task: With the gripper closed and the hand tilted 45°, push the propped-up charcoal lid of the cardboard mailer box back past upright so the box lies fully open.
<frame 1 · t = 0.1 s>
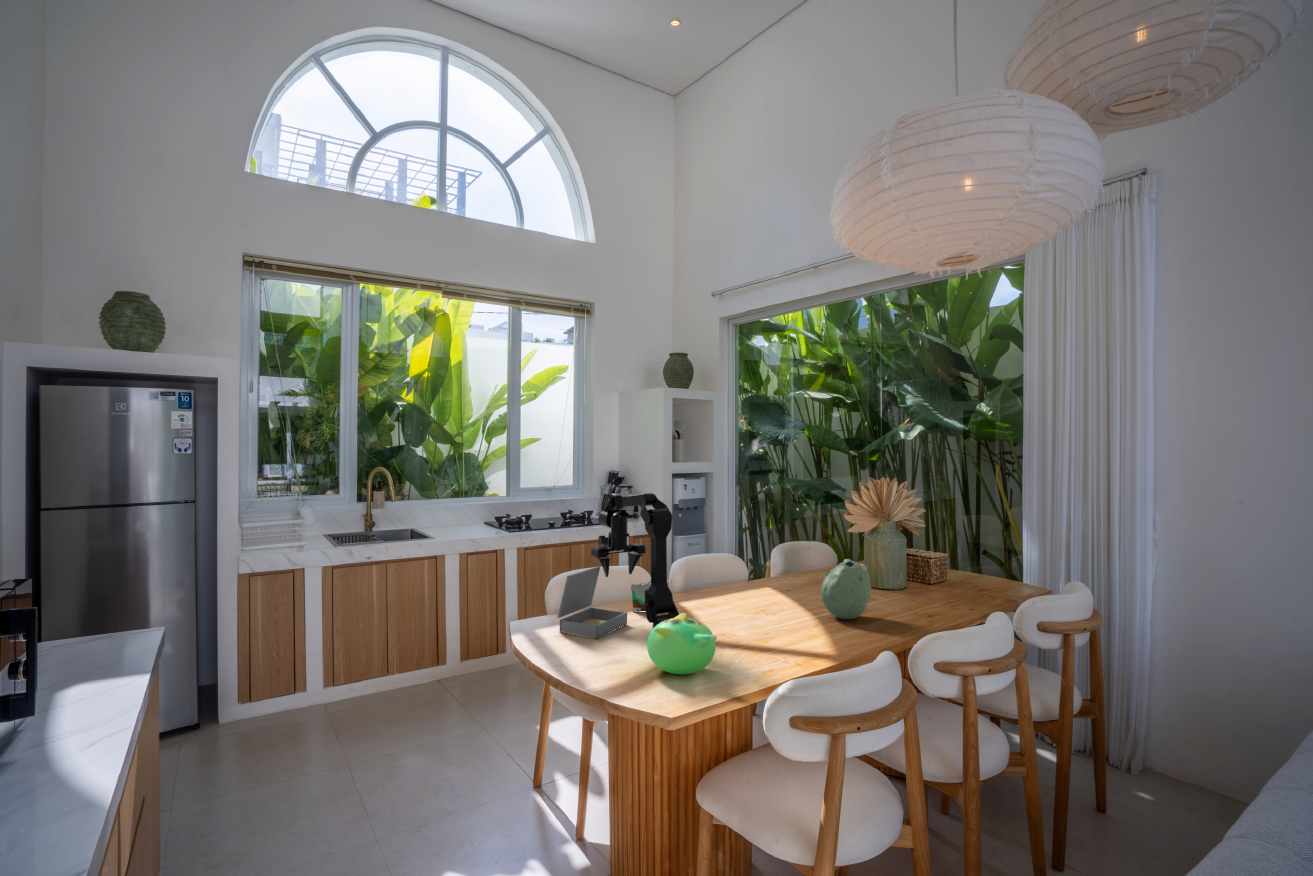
hand: (618, 575, 217), 15 cm above the table, tool pointing down, fingers open, 9 cm apart
toy bird: (681, 673, 167), on the table
food container: (647, 611, 228), on the table
mailer box: (594, 628, 205), on the table
mailer lid: (579, 591, 208), point 11 cm above the table, hinge at 75.0°
green avocado: (845, 619, 220), on the table
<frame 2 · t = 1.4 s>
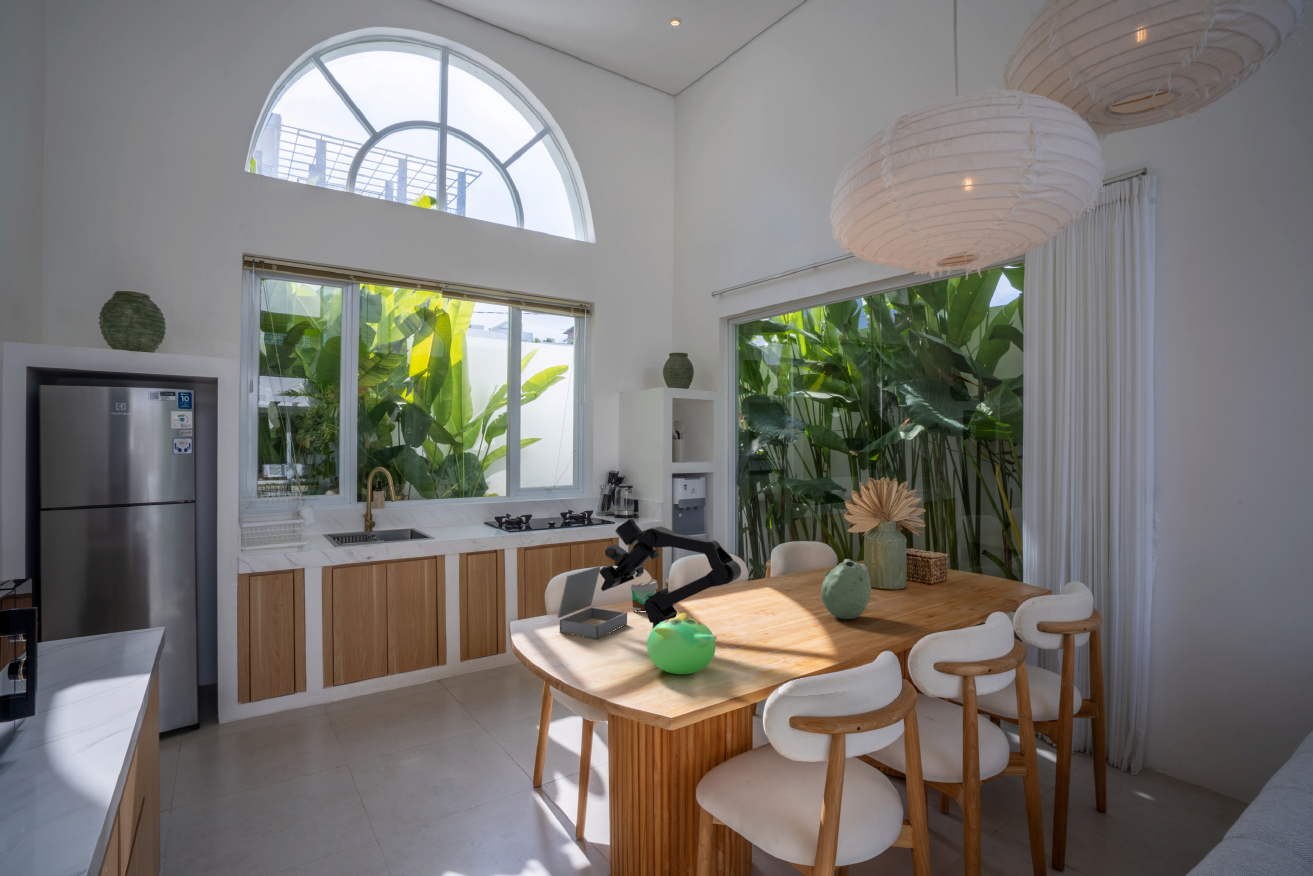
hand: (606, 588, 203), 14 cm above the table, tool tilted 45°, fingers open, 5 cm apart
nothing on the table moved.
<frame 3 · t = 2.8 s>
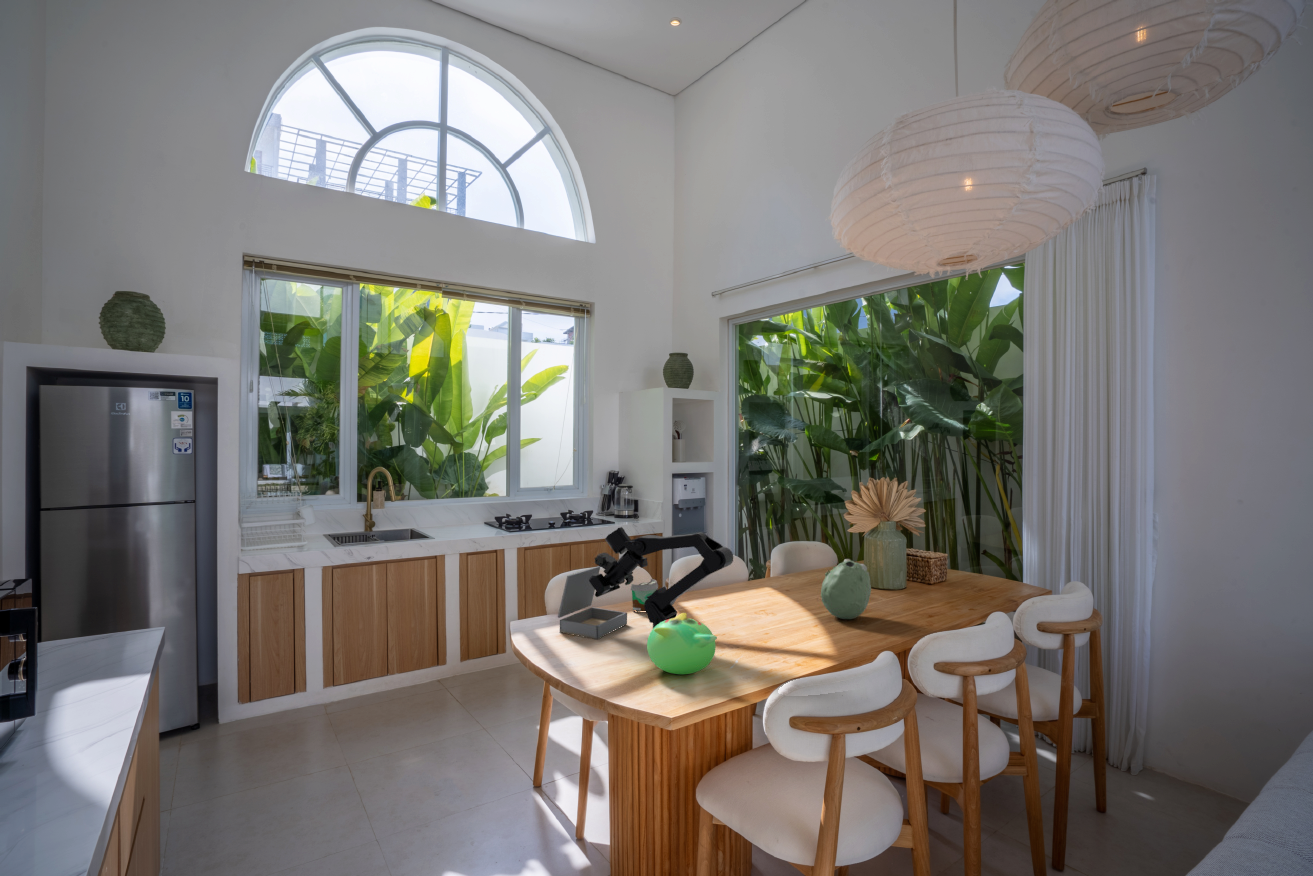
hand: (596, 595, 205), 11 cm above the table, tool tilted 45°, fingers closed
nothing on the table moved.
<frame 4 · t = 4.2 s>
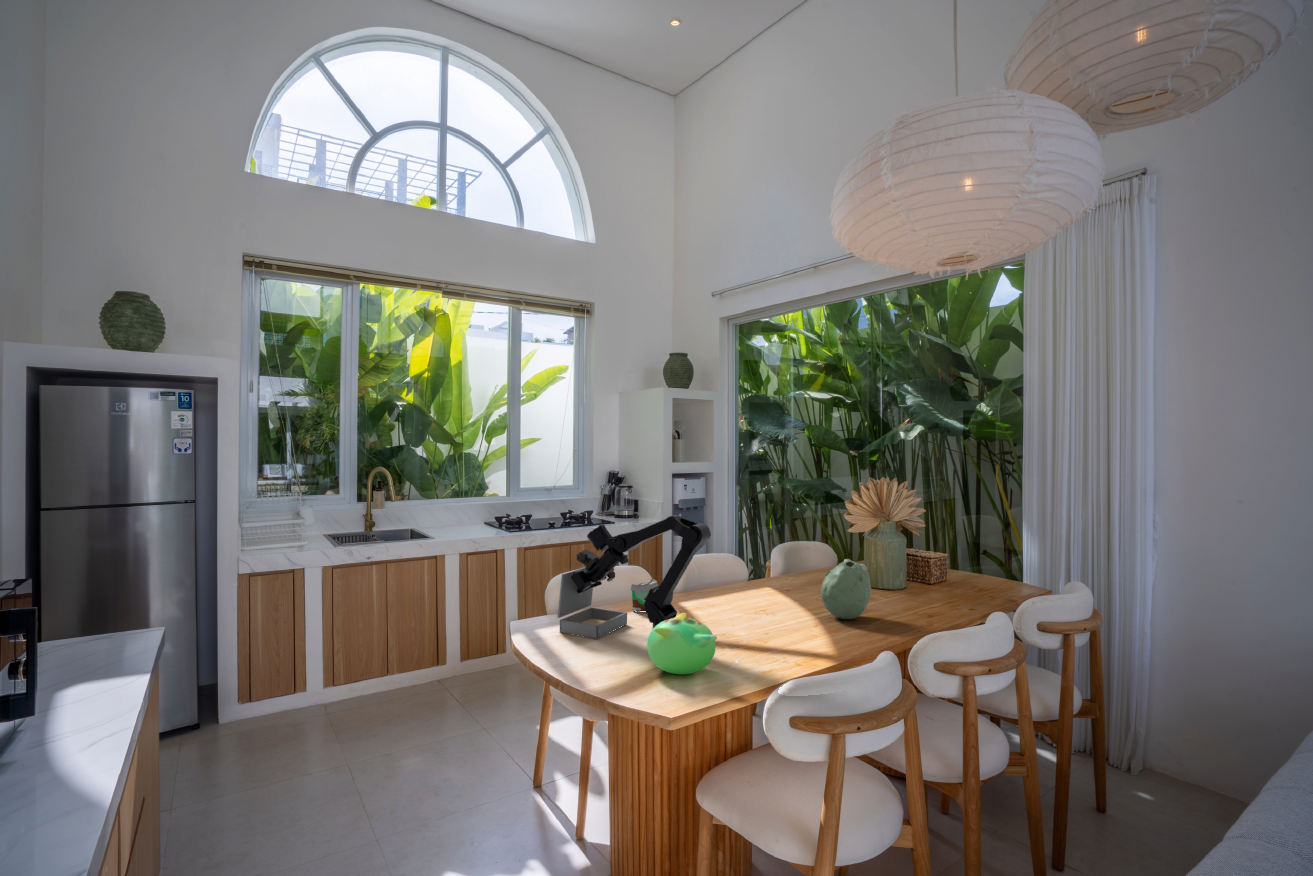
hand: (578, 592, 208), 11 cm above the table, tool tilted 45°, fingers closed, pressing on mailer lid
mailer lid: (577, 590, 208), point 12 cm above the table, hinge at 83.8°, touching gripper
everything else where it was.
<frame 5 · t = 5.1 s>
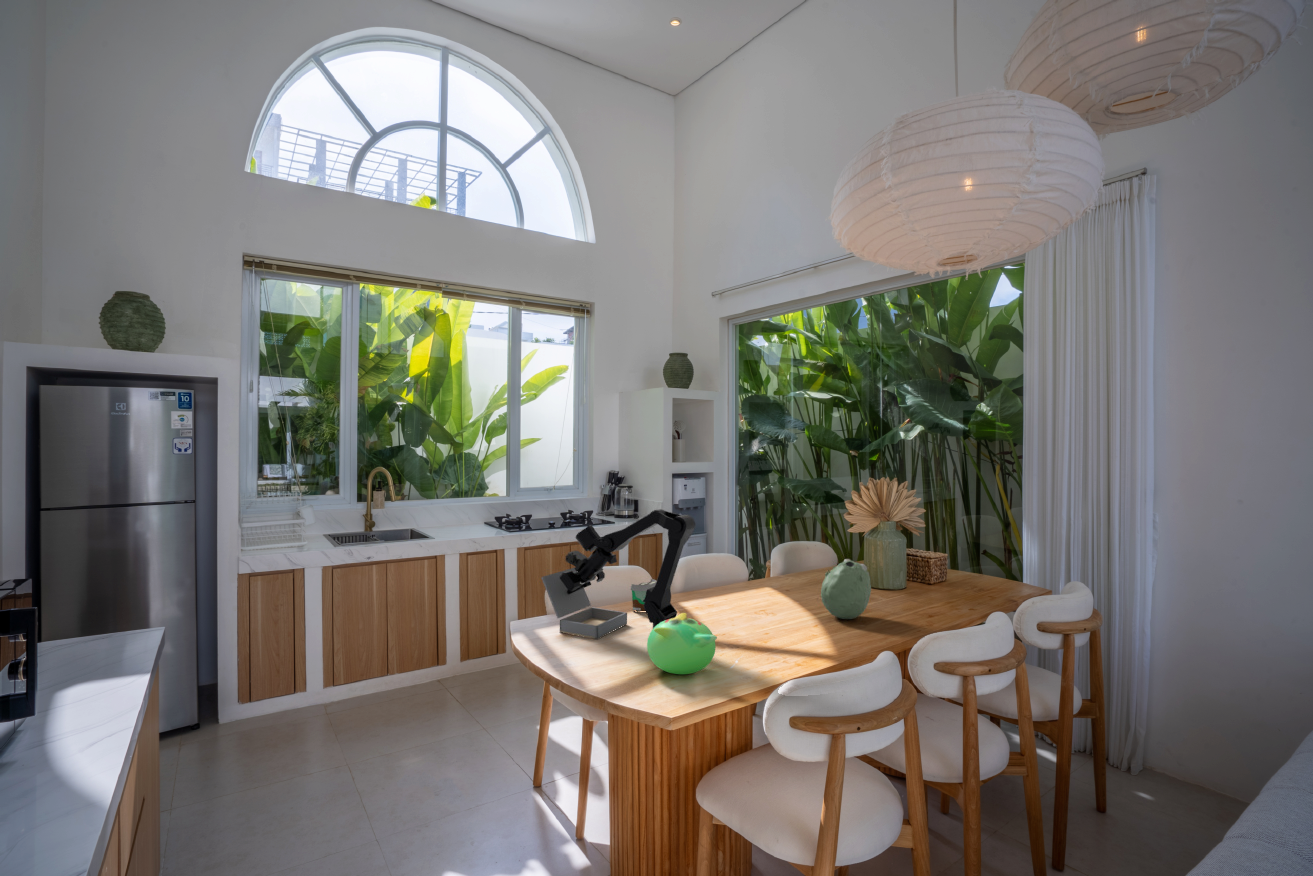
hand: (568, 593, 210), 10 cm above the table, tool tilted 45°, fingers closed, pressing on mailer lid
mailer lid: (566, 591, 210), point 11 cm above the table, hinge at 118.8°, touching gripper
everything else where it was.
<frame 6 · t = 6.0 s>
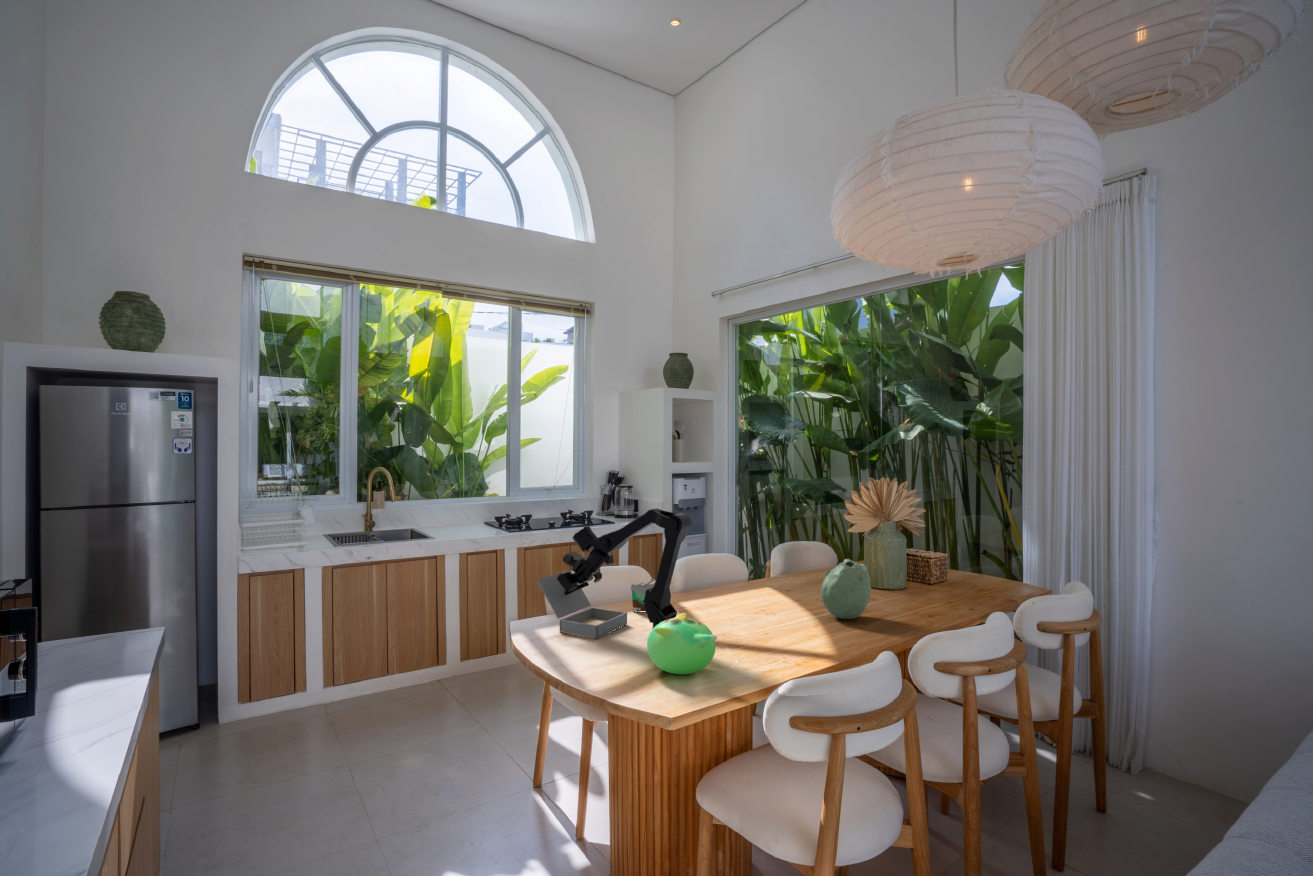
hand: (565, 593, 211), 10 cm above the table, tool tilted 45°, fingers closed, pressing on mailer lid
mailer lid: (564, 593, 211), point 10 cm above the table, hinge at 127.5°, touching gripper
everything else where it was.
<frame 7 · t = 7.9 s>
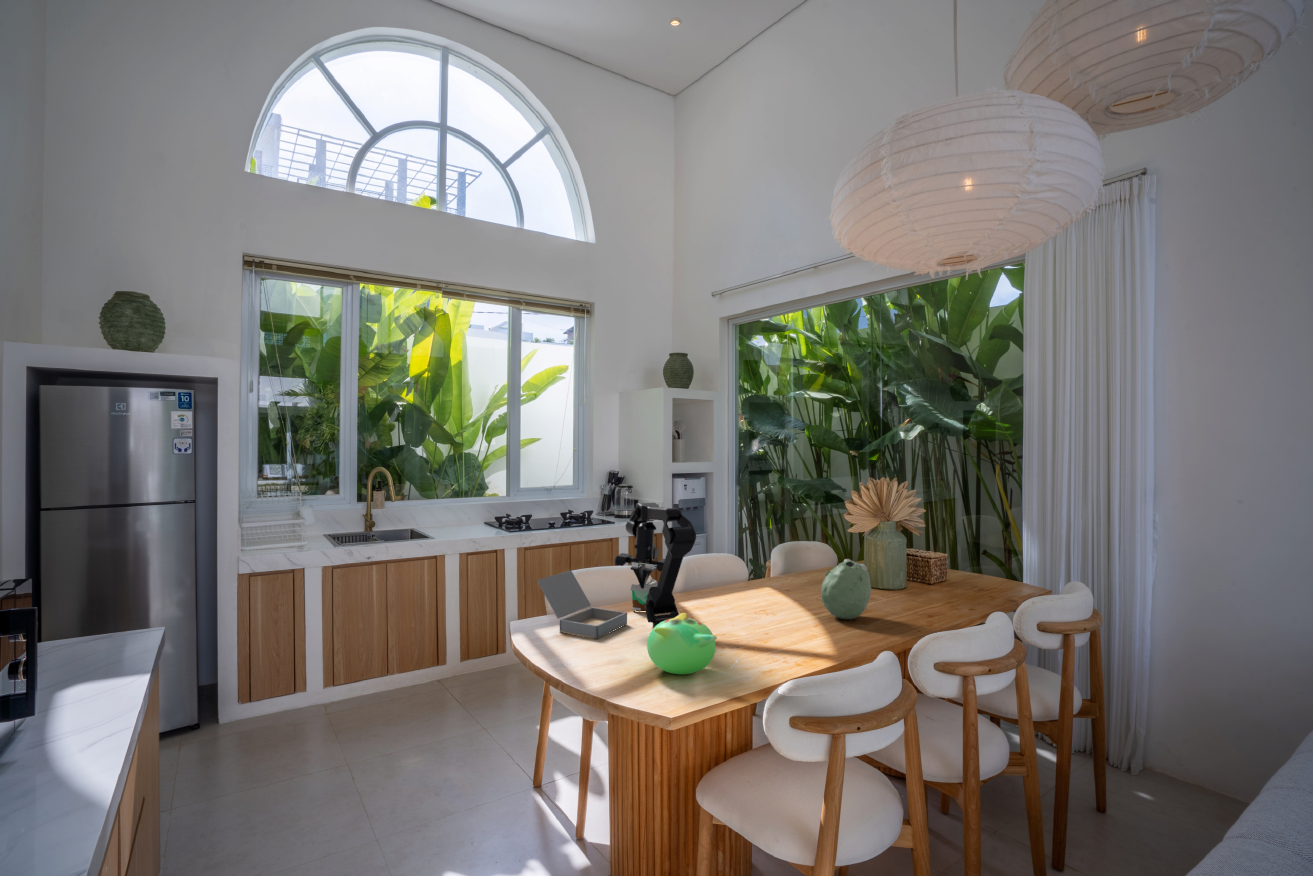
hand: (642, 588, 207), 13 cm above the table, tool pointing down, fingers closed
mailer lid: (564, 593, 211), point 10 cm above the table, hinge at 127.6°
everything else where it was.
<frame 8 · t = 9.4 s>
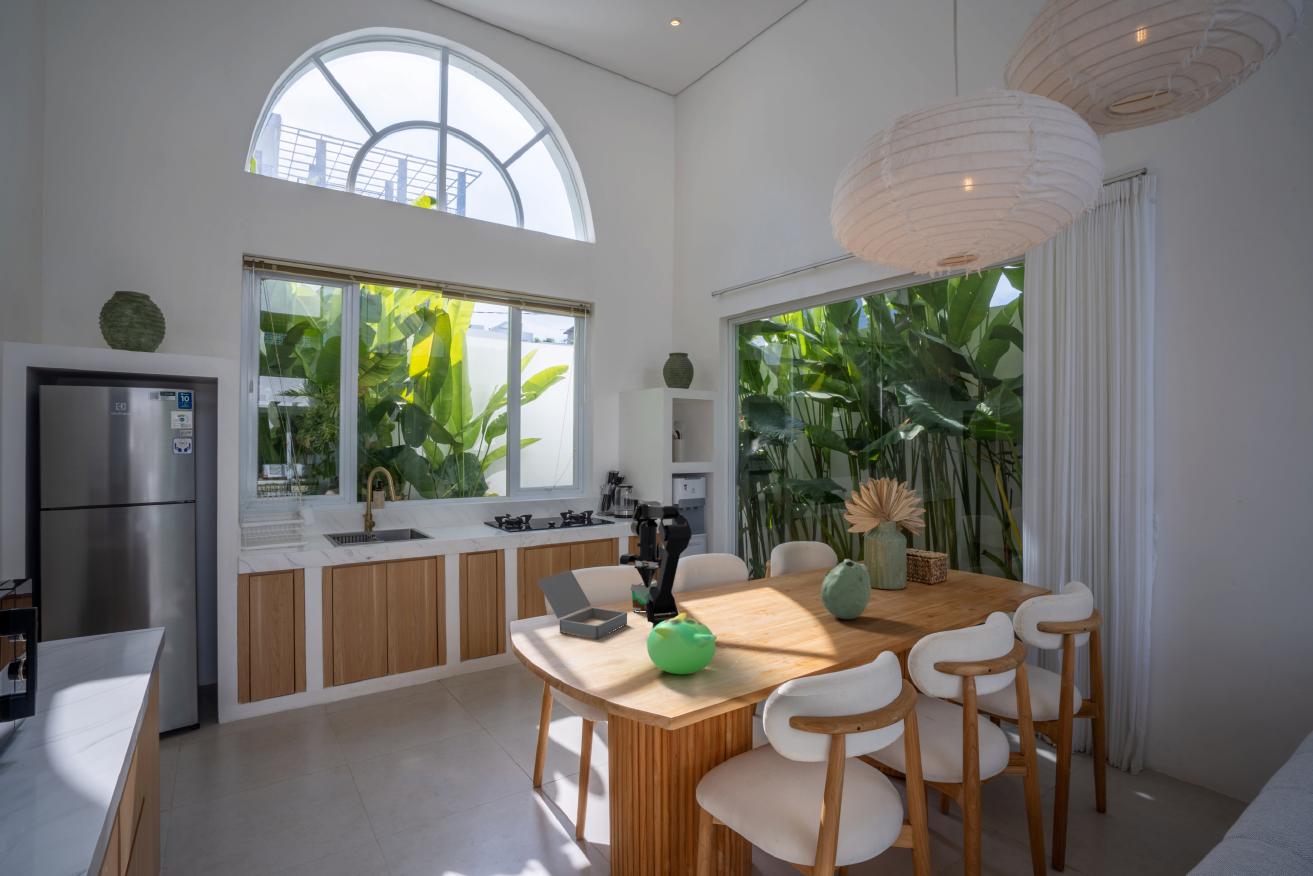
hand: (647, 587, 207), 13 cm above the table, tool pointing down, fingers closed
nothing on the table moved.
at the end: mailer lid at +128° (first picture: +75°) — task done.
